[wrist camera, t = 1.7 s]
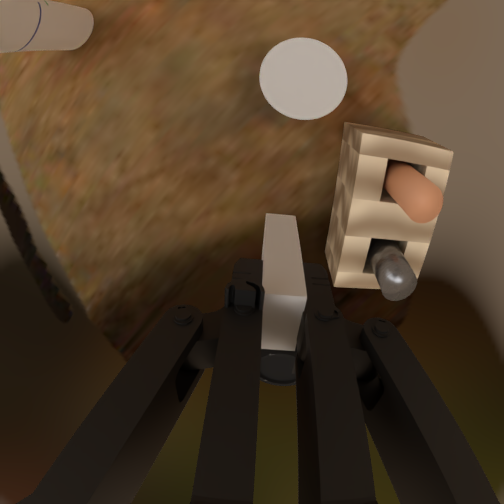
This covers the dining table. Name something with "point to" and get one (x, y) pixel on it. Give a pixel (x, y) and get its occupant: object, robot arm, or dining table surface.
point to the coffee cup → (278, 367)
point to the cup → (303, 78)
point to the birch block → (378, 201)
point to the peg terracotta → (412, 191)
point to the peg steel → (391, 269)
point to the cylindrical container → (43, 25)
